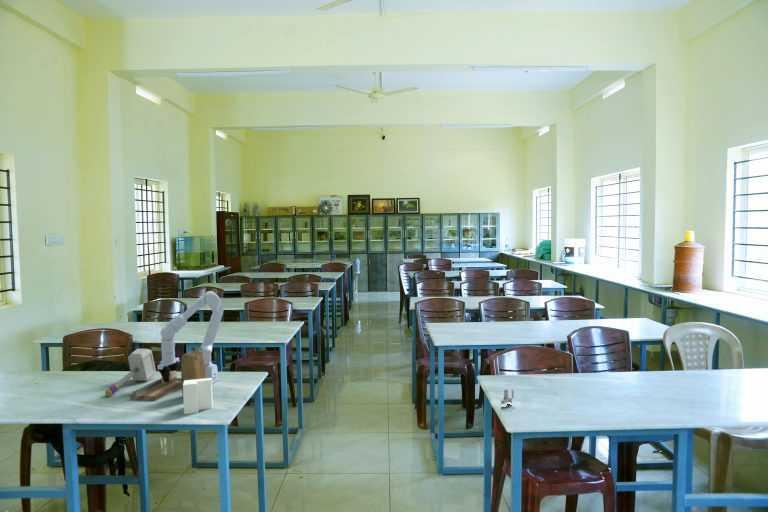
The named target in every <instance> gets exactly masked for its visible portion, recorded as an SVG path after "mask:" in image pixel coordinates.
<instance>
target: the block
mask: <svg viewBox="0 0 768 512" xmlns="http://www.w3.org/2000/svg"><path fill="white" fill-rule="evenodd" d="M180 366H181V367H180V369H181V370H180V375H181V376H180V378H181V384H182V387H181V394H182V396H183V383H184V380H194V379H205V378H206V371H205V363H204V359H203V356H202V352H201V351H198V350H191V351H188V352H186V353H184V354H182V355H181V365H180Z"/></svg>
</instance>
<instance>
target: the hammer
mask: <svg viewBox="0 0 768 512" xmlns="http://www.w3.org/2000/svg"><path fill="white" fill-rule="evenodd" d="M153 355H154V354H153V350H151V349H149V348H136V349H135V350H134V351H133V352H131V353H130V354H129V355H128V356H127V360H128V364H129V365H128V366H129V369H130V372H128V373H127V374H125V376H124V377H122V378H121V379H119V380H118V381H117V382H116V383H115V384H113V385H111V387H109V388H108V389H106V390H105V391H104V394H105V396H106V397H108V398H109V397H112V396H113V394H115V392H117V391H118V390H119V389H120V388H121V387H122V386H123V385H124V384H126V383H127V382H128V381H129V380H130V379H131V378H132V381H135V382H149V380H150V379H151V378H153V377H154V376H155V375H156V373H157V369H156V365H155V360H154V359H155V358H154V356H153Z"/></svg>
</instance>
